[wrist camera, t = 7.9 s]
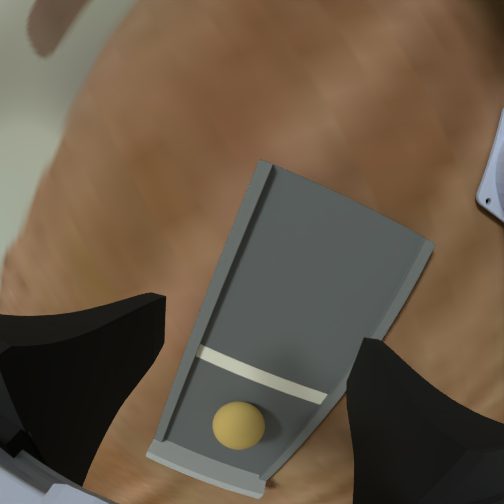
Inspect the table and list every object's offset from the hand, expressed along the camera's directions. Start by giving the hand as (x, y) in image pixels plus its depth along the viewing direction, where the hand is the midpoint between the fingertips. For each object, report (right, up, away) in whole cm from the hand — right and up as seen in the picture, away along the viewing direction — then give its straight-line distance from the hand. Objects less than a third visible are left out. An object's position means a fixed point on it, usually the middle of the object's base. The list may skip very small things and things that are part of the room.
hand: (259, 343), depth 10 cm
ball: (-1, -10, +10) cm, 15 cm away
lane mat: (+1, -6, +12) cm, 13 cm away
